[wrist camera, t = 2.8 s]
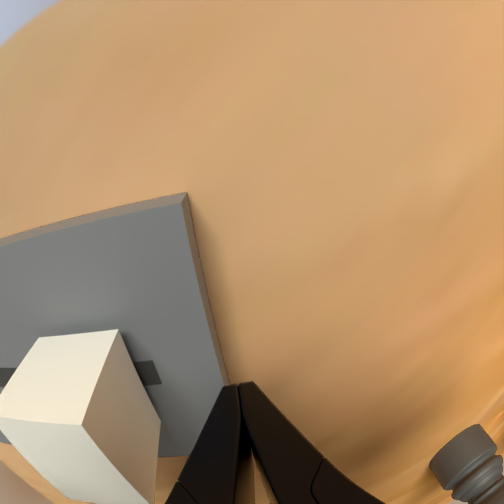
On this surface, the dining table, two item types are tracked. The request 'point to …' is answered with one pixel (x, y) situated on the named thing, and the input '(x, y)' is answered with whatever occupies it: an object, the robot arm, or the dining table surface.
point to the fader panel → (121, 304)
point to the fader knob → (84, 418)
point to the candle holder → (471, 468)
